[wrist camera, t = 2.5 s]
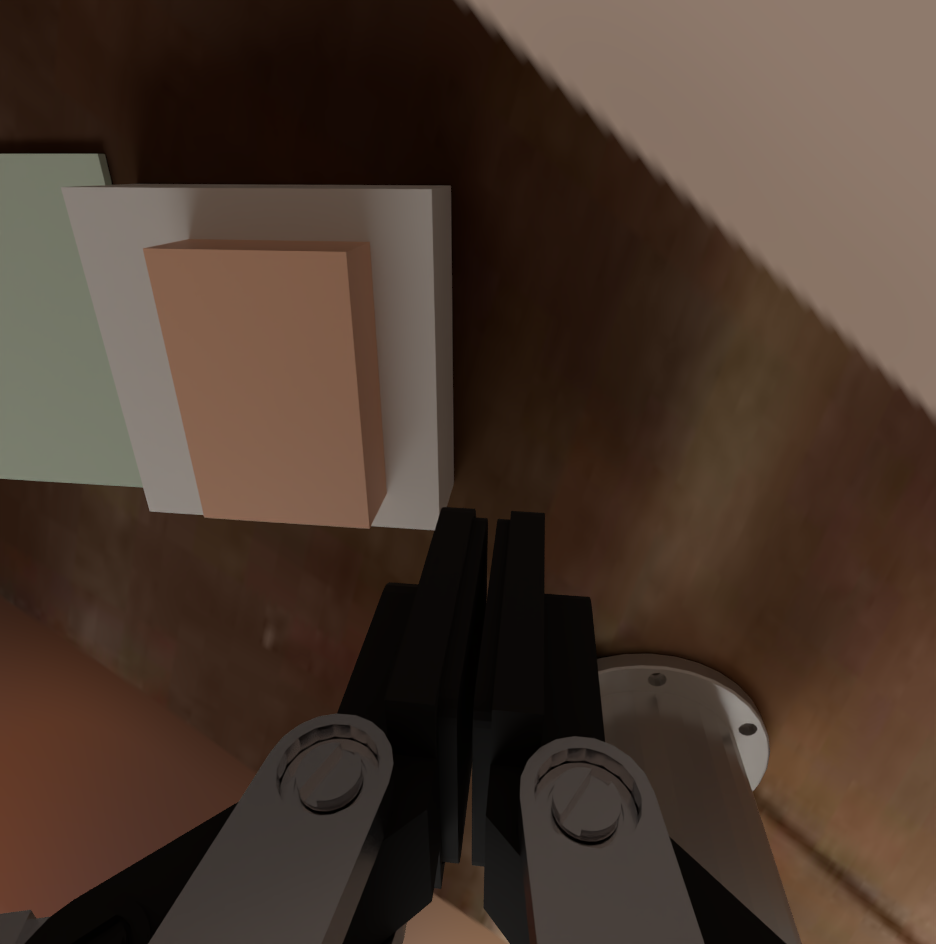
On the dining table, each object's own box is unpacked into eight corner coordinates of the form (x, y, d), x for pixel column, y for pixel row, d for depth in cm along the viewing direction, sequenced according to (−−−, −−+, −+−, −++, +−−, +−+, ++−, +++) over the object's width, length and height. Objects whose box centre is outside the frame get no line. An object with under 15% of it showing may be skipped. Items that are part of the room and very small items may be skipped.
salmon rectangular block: (387, 493, 23) (369, 528, 21) (236, 484, 24) (204, 517, 21) (369, 241, 19) (345, 251, 17) (188, 239, 20) (142, 248, 17)
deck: (453, 482, 27) (439, 530, 23) (199, 468, 28) (149, 511, 25) (450, 185, 22) (431, 189, 18) (136, 184, 23) (60, 187, 19)
